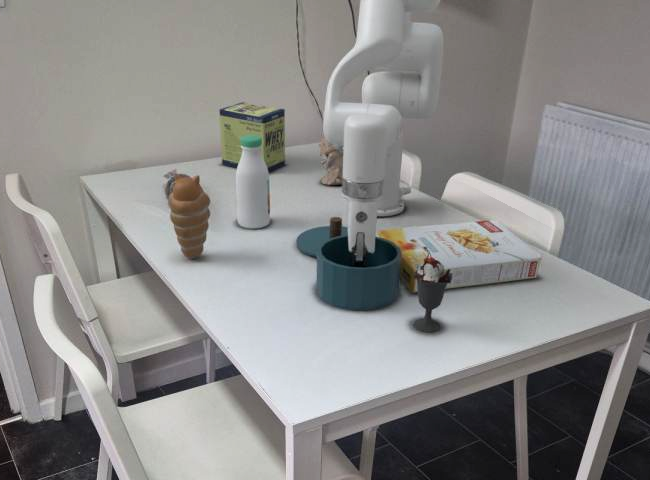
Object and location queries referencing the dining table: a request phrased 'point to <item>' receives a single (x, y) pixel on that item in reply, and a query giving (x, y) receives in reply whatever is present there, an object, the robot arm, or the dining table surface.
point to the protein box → (253, 132)
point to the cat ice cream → (189, 214)
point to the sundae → (430, 291)
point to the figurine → (332, 162)
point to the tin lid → (320, 236)
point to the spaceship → (171, 182)
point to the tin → (358, 275)
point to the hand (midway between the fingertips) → (357, 278)
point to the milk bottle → (252, 185)
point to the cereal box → (465, 253)
